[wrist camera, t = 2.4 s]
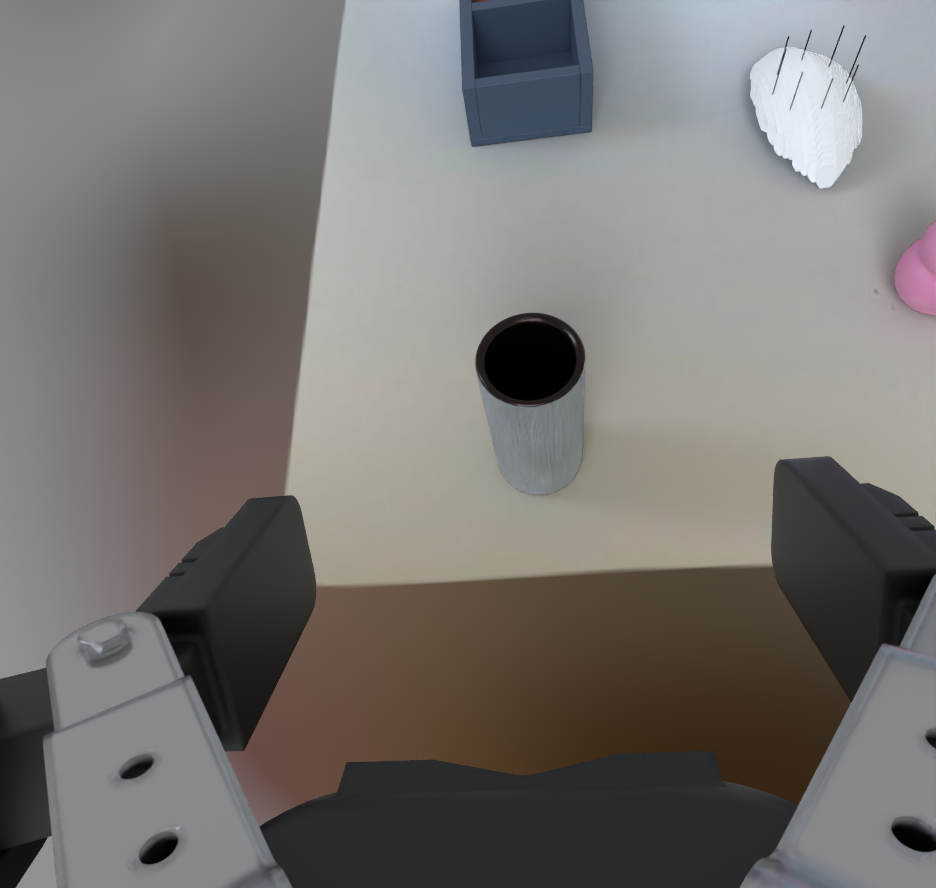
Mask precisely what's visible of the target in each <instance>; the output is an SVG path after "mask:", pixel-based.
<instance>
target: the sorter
mask: <svg viewBox="0 0 936 888" xmlns="http://www.w3.org/2000/svg"><path fill="white" fill-rule="evenodd" d="M460 31H461V62H462V90H463V96H464V102H465V109H466V115H467V121H468V127H469V134H470V139H471V146H480V145H488V144H497V143H505V142H513V141H521V140H529V139H537V138H545V137H553V136H561V135H569V134H577V133H585V132H591V131H592V99H593V66H592V59H591V52H590V45H589V38H588V31H587V24H586V17H585V10H584V3H583V0H460Z"/></svg>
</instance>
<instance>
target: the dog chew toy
mask: <svg viewBox="0 0 936 888" xmlns="http://www.w3.org/2000/svg"><path fill="white" fill-rule="evenodd" d="M895 286H896V290H897V292H898V294H899V296H900V297H901V299H902V300H903V301H904V302H905V303H906V304H907V305H908V306H909V307H911V308H912V309H914V310H916V311H918V312H920V313H923V314H927V315H934V316H936V221H934V222H933V223H932V224H931V225H930V226H929V227H928V229H927V230H926V232H925V234H924V235H923V238H921V239H919V240H917V241H916V242H915V243H914V244H912V245H911V246H910V247H909V248H908V249H907V250H906V251H905V253H904V254H903V255H902V256H901V258H900V259H899V261H898V264H897V266H896V270H895Z"/></svg>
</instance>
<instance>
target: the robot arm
mask: <svg viewBox="0 0 936 888" xmlns="http://www.w3.org/2000/svg"><path fill="white" fill-rule="evenodd" d="M771 553H772V563H773V568H774V573H775V576H776V579H777V582H778V584H779V586H780V588H781V590H782V591H783V593H784V594H785V596H786V598H787V599H788V601H789V603H790V604H791V606H792V607H793V609H794V611H795V612H796V614H797V616H798V617H799V619H800V620H801V622H802V624H803V625H804V627H805V628H806V630H807V632H808V633H809V635H810V637H811V638H812V640H813V641H814V643H815V645H816V646H817V648H818V649H819V651H820V653H821V654H822V656H823V658H824V659H825V661H826V662H827V664H828V666H829V667H830V669H831V670H832V672H833V674H834V675H835V677H836V679H837V680H838V682H839V684H840V685H841V687H842V688H843V690H844V692H845V693H846V695H847V696H848V698H849V700H850V701H851V705H850V706H849V709H848V710H847V712H846V714H845V716H844V718H843V720H842V722H841V724H840V726H839V728H838V730H837V732H836V734H835V736H834V738H833V739H832V741H831V743H830V746H829V747H828V749H827V751H826V753H825V755H824V757H823V759H822V761H821V763H820V765H819V767H818V769H817V771H816V772H815V775H814V776H813V778H812V780H811V782H810V784H809V786H808V788H807V790H806V792H805V794H804V796H803V798H802V800H801V802H800V803H799V805H796V804H794V803H792V802H789V801H787V800H785V799H783V798H780V797H777V796H775V795H772V794H769V793H767V792H764V791H761V790H758V789H753V788H750V787H747V786H743V785H739V784H735V783H729V782H724V781H723V779H722V776H721V773H720V770H719V767H718V764H717V761H716V758H715V754H714V752H713V751H696V752H664V753H633V754H617V755H613V756H609V757H604V758H600V759H596V760H592V761H588V762H584V763H580V764H575V765H571V766H567V767H563V768H559V769H555V770H550V771H546V772H542V773H537V774H533V775H513V774H508V773H502V772H497V771H492V770H486V769H480V768H475V767H469V766H464V765H459V764H453V763H448V762H442V761H437V760H411V761H378V762H347V763H346V766H345V770H344V773H343V776H342V779H341V782H340V786H339V789H338V792H336V793H332V794H328V795H325V796H322V797H319V798H316V799H313V800H310V801H308V802H305V803H303V804H300V805H298V806H296V807H294V808H292V809H290V810H287V811H285V812H283V813H282V814H280V815H278V816H276V817H275V818H273V819H271V820H269V821H267V822H266V823H264V824H263V825H261V826H260V827H259V826H258V823H257V821H256V819H255V817H254V815H253V813H252V810H251V808H250V806H249V804H248V802H247V799H246V797H245V795H244V793H243V790H242V788H241V786H240V784H239V782H238V780H237V777H236V775H235V773H234V770H233V768H232V766H231V764H230V762H229V759H228V757H227V755H226V753H225V751H244V750H245V748H246V746H247V744H248V742H249V740H250V738H251V736H252V734H253V732H254V730H255V728H256V726H257V724H258V722H259V720H260V718H261V716H262V713H263V711H264V709H265V707H266V705H267V703H268V701H269V699H270V697H271V695H272V693H273V691H274V689H275V687H276V685H277V683H278V681H279V679H280V677H281V675H282V673H283V671H284V669H285V666H286V664H287V662H288V660H289V658H290V656H291V654H292V652H293V650H294V648H295V646H296V644H297V642H298V640H299V638H300V636H301V634H302V632H303V630H304V628H305V626H306V623H307V622H308V620H309V618H310V615H311V613H312V611H313V608H314V604H315V599H316V579H315V573H314V568H313V563H312V559H311V554H310V549H309V545H308V540H307V536H306V531H305V526H304V522H303V517H302V512H301V508H300V505H299V503H298V501H297V499H296V498H295V497H294V496H291V495H290V496H277V497H264V498H251V499H249V500H248V501H247V502H246V503H245V504H244V505H243V506H242V507H241V509H240V510H239V511H238V512H237V514H236V515H235V516H234V517H233V518H232V519H231V520H230V521H229V523H228V524H227V525H226V526H225V527H223V528H220V529H218V530H217V531H215V532H213V533H212V534H210V535H209V536H207V537H205V538H204V539H202V540H201V541H199V542H197V543H196V544H195V546H194V547H193V548H192V549H191V550H190V551H189V552H188V553H187V555H186V556H185V557H184V558H183V559H182V563H178V565H177V566H176V567H175V568H174V569H173V570H172V571H171V572H170V577H166V578H165V579H164V580H163V581H162V582H161V583H160V585H159V586H158V587H157V588H156V589H155V590H154V591H153V592H152V593H151V595H150V596H149V597H148V598H147V599H146V600H145V601H144V602H143V604H142V605H141V606H140V607H139V608H138V609H137V610H136V612H128V613H121V614H116V615H112V616H108V617H105V618H102V619H99V620H97V621H94V622H92V623H89V624H87V625H85V626H83V627H81V628H79V629H78V630H76V631H74V632H72V633H71V634H69V635H68V636H66V637H65V638H64V639H62V640H61V641H60V642H59V643H58V644H57V645H56V646H55V647H54V648H53V649H52V651H51V652H50V653H49V655H48V657H47V660H46V668H44V669H40V670H36V671H32V672H28V673H24V674H19V675H15V676H11V677H7V678H3V679H0V888H16V886H17V885H18V883H19V882H20V880H21V878H22V877H23V875H24V874H25V872H26V871H27V869H28V868H29V866H30V865H31V863H32V862H33V860H34V859H35V857H36V856H37V854H38V852H39V851H40V850H41V848H42V847H43V845H44V843H45V841H46V839H47V837H49V836H52V842H53V852H54V862H55V873H56V883H57V888H936V530H935V529H934V526H933V525H932V524H931V523H930V522H929V521H927V520H926V519H925V518H924V517H923V516H919V515H918V512H917V511H916V510H915V509H913V508H912V507H911V506H910V505H909V504H908V503H906V502H905V501H904V500H903V499H902V498H901V497H899V496H897V495H895V494H893V493H890V492H888V491H886V490H883V489H881V488H879V487H876V486H874V485H872V484H869V483H864V484H860V483H859V482H858V481H857V480H855V479H854V478H853V477H852V476H851V475H850V474H849V473H848V472H847V471H846V470H845V469H843V468H842V467H841V466H840V465H839V464H838V463H837V462H836V461H835V460H834V459H833V458H831V457H829V456H825V457H812V458H798V459H785V460H779V461H778V463H777V464H776V467H775V472H774V487H773V514H772V542H771Z"/></svg>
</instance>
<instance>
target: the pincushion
mask: <svg viewBox="0 0 936 888" xmlns="http://www.w3.org/2000/svg"><path fill="white" fill-rule="evenodd" d="M843 29H844V26H843V28H842V31H841V34H842V32H843ZM811 31H812V30H811ZM811 31H810V34H809V37H808V40H807V43H806V46H805V50H806V47H807V44H808V41H809V38H810V35H811ZM841 34H840V37H841ZM840 37H839V39H838V42H839V40H840ZM865 37H866V35H865ZM865 37H864V39H863V42H864V40H865ZM788 39H789V36H788ZM788 39H787V42H786V46H787V43H788ZM838 42H837V45H838ZM863 42H862V44H861V47H862V45H863ZM837 45H836V47H835V50H836V48H837ZM786 46H785V47H784V48H778V49H775V50H772V51H771V52H769V53H767V54H766V56H764V57H763V58H761V59H760V60H759V61H758V62H757V63H756V64H755V65H754V66H753V68H752V70H751V73H750V80H752V81H751V92H750V96H751V99H752V100H753V104H754V106H755V107H756V115H757V119H758V121H759V126H760V128H761V130H762V131H764V132H767V137H768V141H769V142H770V143H771V144H772V145H773V144H774V151H775V152H776V153H777V154H778V156H780V155H782V157H783V158H784V159H786V158H788V159H789V160H791V159H792V166H793V168H794V169H795V171H796V172H798V171H800V172H801V174H802V175H803V176H806V175H807V174H808V178H809V179H810V181H811V182H812V183H813V182H816V184H817V185H818V187H819V189H821V188H825V187H826V188H828V187H831V186H832V185H833V183H834V182H835V181H836V179H838V177H839V176H840V174H841V173H842V170H844V169H845V167H846V164H850V161H851V159H852V153H853V150H854V148H857V145H858V144H860V142H861V139H862V109H861V101H860V98H859V97H858V93H857V92H856V88H855V86H854V83H853V78H854V76H855V73H856V71H857V69H858V66H859V65H858V66H857V68H856V70H855V73H854V75H853V78H852V79H851V78H850V75H851V72H852V70H853V67H854V65H855V62H856V60H857V57H858V55H859V52H860V50H861V47H860V49H859V52H858V54H857V57H856V59H855V62H854V64H853V67H852V69H851V72H850V74H848V73H847V71H846V70H844V69H842V67H841V66H840V65H839V64H838V63H837V62H836V63H835V62H834V61H832V59H833V56H834V53H835V50H834V53H833V56H832V58H831V59H829V58H828V57H826V56H825V57H824V56H822V55H821V54H820V55H819V54H816V53H812V52H811V51H810V52H809V51H805V50H803V49H798V48H796V47H786Z"/></svg>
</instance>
